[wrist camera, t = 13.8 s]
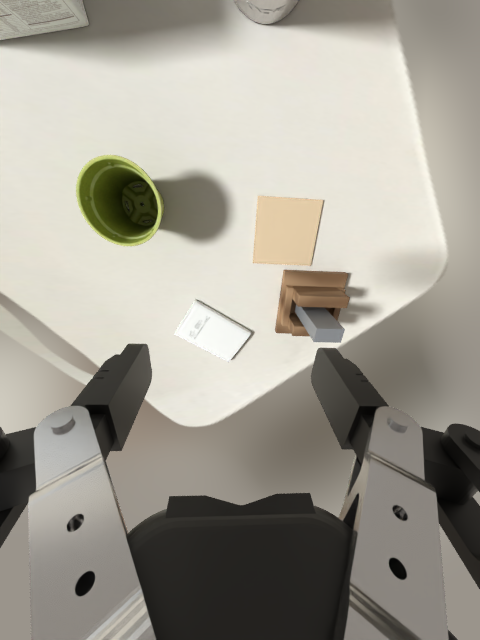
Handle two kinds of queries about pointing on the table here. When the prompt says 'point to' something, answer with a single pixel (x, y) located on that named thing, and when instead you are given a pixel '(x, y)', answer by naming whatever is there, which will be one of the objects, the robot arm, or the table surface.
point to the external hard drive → (212, 331)
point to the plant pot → (119, 200)
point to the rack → (309, 297)
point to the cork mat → (286, 230)
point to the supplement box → (40, 17)
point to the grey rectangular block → (320, 324)
